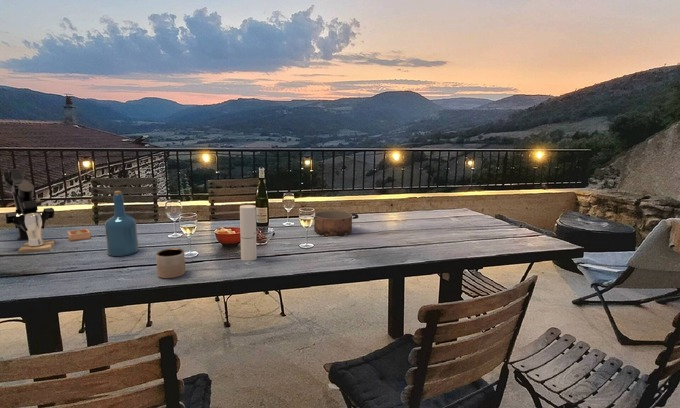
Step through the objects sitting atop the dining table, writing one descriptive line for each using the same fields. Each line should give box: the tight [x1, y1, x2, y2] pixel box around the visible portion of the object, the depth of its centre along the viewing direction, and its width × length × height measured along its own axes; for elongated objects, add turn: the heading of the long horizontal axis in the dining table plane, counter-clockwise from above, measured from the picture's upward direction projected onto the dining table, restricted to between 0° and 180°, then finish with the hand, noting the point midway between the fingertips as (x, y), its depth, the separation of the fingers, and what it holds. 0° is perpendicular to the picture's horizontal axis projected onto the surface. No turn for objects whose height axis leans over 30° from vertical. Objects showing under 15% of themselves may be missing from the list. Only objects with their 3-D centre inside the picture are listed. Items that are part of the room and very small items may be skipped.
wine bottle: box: [104, 190, 139, 257], centre depth 186 cm, size 14×13×30 cm
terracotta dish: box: [66, 228, 92, 242], centre depth 210 cm, size 9×9×4 cm
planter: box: [155, 248, 186, 280], centre depth 163 cm, size 11×11×10 cm
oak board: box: [17, 239, 56, 254], centre depth 193 cm, size 14×12×2 cm
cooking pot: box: [313, 209, 359, 237], centre depth 233 cm, size 30×22×11 cm
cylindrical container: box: [239, 204, 258, 262], centre depth 183 cm, size 7×7×25 cm
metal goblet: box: [23, 213, 44, 246], centre depth 190 cm, size 7×7×15 cm
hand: (34, 229), depth 189 cm, fingers closed on metal goblet, 6 cm apart
